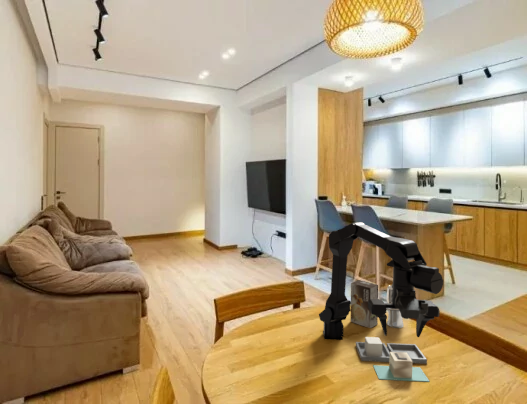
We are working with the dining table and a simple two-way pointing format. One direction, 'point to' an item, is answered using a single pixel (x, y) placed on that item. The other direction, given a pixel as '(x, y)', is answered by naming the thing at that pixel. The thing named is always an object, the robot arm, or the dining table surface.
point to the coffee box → (363, 303)
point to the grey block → (373, 346)
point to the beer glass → (393, 312)
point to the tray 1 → (364, 357)
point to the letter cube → (400, 365)
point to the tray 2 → (408, 351)
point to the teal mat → (386, 374)
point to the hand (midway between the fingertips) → (401, 336)
